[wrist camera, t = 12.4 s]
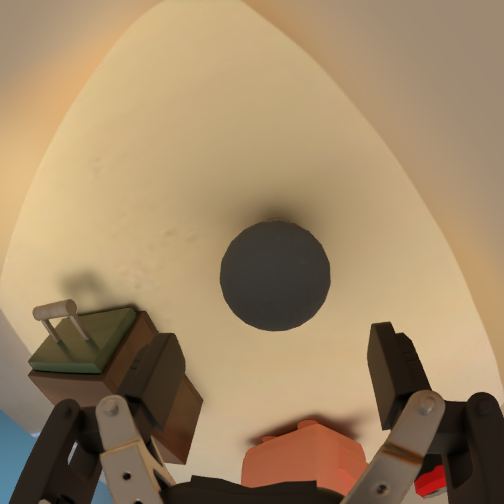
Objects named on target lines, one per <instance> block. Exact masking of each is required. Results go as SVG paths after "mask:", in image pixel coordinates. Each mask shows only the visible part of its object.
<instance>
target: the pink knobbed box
mask: <svg viewBox="0 0 504 504" xmlns="http://www.w3.org/2000/svg"><path fill="white" fill-rule="evenodd" d="M297 426H298V430H296V431H294V432H291V433H288V434H285V435H282V436H279V437H276V436H265V437H262V438H261V441H262V442H263V443H262V444H260V445H257V446H255V447H253V448H251V449H249V450H248V451H247V453H246V455H245V458H244V460H243V465H242V475H241V485H242V486H246V487H250V488H254V487H260V486H266V485H271V484H276V483H280V482H285V481H312V480H317V486H318V487H324V488H328V489H331V490H334V491H336V492H339V493H341V494H343V495H344V496H346V495H347V494H348V492H349V491H350V490H351V489H352V487H353V486H354V485H355V483H356V482H357V481H358V479H359V478H360V476H361V475H362V474H363V472H364V471H365V469H366V468H367V467H368V465H369V464H368V463H367V462H366V459H365V454H364V451H363V448H362V446H361V445H360V444H359V443H357V442H356V441H354V440H352V439H350V438H348V437H346V436H344V435H342V434H340V433H337V432H335V431H333V430H331V429H329V428H327V427H325V426H322V425H320V424H319V423H318V422H317V421H315V420H304V421H301V422H299V423H298V425H297Z"/></svg>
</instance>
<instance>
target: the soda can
mask: <svg viewBox="0 0 504 504" xmlns="http://www.w3.org/2000/svg"><path fill="white" fill-rule="evenodd" d="M423 460H424V462H423V465H422V467H421V469H420V471H419V473H418V474H417V476H416V478H415V480H414V484H415V490H416V493H417V494H418V495H420V496H421V497H423V498H424V499H426V498H431V497H434V496H437V495H440V494H442V493H445V492H447V487H446V480H445V474H444V468H443V462H442V457H441V454H426V455H425V457H424V459H423Z"/></svg>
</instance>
